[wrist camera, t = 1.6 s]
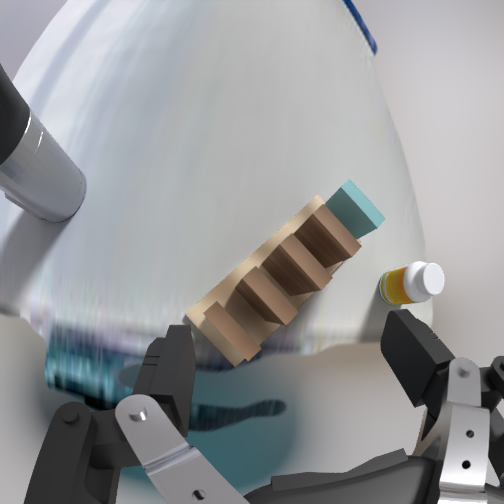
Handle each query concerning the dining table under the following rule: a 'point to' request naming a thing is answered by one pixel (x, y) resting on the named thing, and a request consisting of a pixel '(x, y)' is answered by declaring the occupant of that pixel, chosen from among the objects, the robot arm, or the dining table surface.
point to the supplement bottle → (411, 283)
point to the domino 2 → (296, 268)
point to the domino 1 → (232, 331)
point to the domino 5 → (354, 210)
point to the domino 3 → (265, 298)
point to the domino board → (238, 305)
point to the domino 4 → (327, 238)
